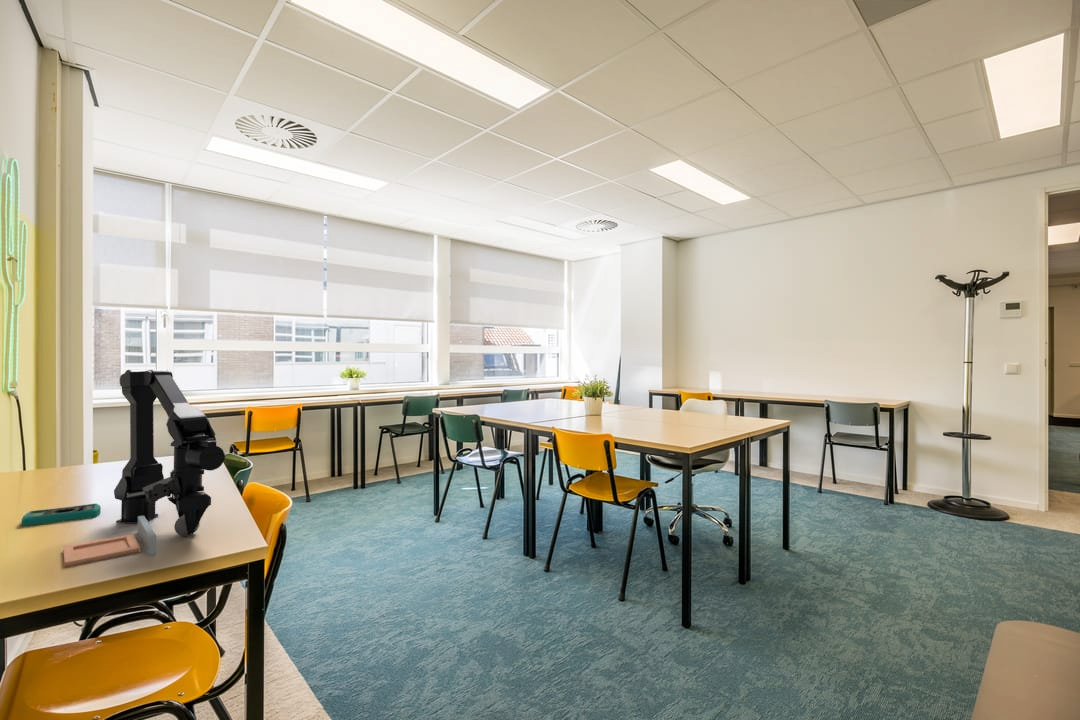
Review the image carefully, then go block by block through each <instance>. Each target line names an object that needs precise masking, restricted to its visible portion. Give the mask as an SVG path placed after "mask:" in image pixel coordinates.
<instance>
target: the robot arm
mask: <svg viewBox="0 0 1080 720" xmlns="http://www.w3.org/2000/svg"><path fill="white" fill-rule="evenodd" d="M119 385H120V387H121V393H122V394H121V395H123V396H124V398H125V399H126V400H127V401H128V402H129V413H130V414H129V418H130V419H129V423H130V424H129V425H130V428H129V429H130V430H129V431H130V440H129V441H130V442H129V443H130V445H129V446H130V448H129V449H130V450H129V451H130V452H129V453H130V455H129V456H130V457H129V458H130V459H129V460H128V461H127V462H126V464H125V466H124V467H123V468H122V472H121V473H122V474H121V478H120V480H118V483H117V485H116V486H115V488H114V490H113V494H114V499H115V500H119V501H121V503H120V504H121V507H120V508H121V512H120V513H121V515H120V516H121V517H120V519H117V520H115V523H116V524H117V523H118V524H119V523H120V524H138V516H145V518H146V520H147V521H149V520H151V519H155V518H157V517H158V516H159V513H156V502H157V501H158V500H160V499H163V498H165V497H167V500H168V501H169V502H171V503H172V504H173V505H175V510H176V512H177V516H178V518H180V517H181V516H183V515H184V519H185V525H186V530H187V534H188V536H191V535H194V534H195V532H194V531H195V529H196V527H197V525H198V523H199V522H200V521H201V520H202V518H203V516H204V514H205V512H206V511H207V509H208V508H209V507H210V506H211V505H212V496H210V495H209V494H207V493H206V492H205V487H204V485H203V475H205V471H209V472H211V471H214V470H217V469H219V468H220V467H221V466H222V465H223V464H224V462H225V459H226V454H225V452H224V450H223V448H222V447H220V446H218V445H217V438H216V433H215V431H214V429H213V427H212V425H211V423H210V420H209V418H208V417H207V415H206V414H205V413H204V412H203V411H202V410H201V409H200V408H198V407H196V406H193V405H191V404H190V403H189V402H188V400H187V399H186V398H187V397H185V396H184V394H183V392H182V390H181V389H180V387H179V386H178V384H177V382H176V381H175V380H174V376H173V373H172V371H171V370H168V369H127V370H125V372H124V373H122V374H121V375H120V376H119ZM156 400H158V402H159V403H160V405H161V407H162V408H163V410H164V411H165V413H166V415H167V417H168V419H167V421H166V423H165V425H166V427H167V432H168V434H169V436H170V437H171V438H172V440H173V441H172V442H171V443H170V446H171V447H173V469H172V470H171V471H170V472H169V476H168V477H167V478H165V476H164V473H163V469H164V467H163V464H162V463H160V462H158V461H157V459H156V458H155V453H154V451H155V450H154V449H155V448H154V447H155V446H154V442H155V441H154V438H155V437H154V432H155V431H154V402H155V401H156ZM158 502H159V501H158ZM200 523H201V522H200Z"/></svg>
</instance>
